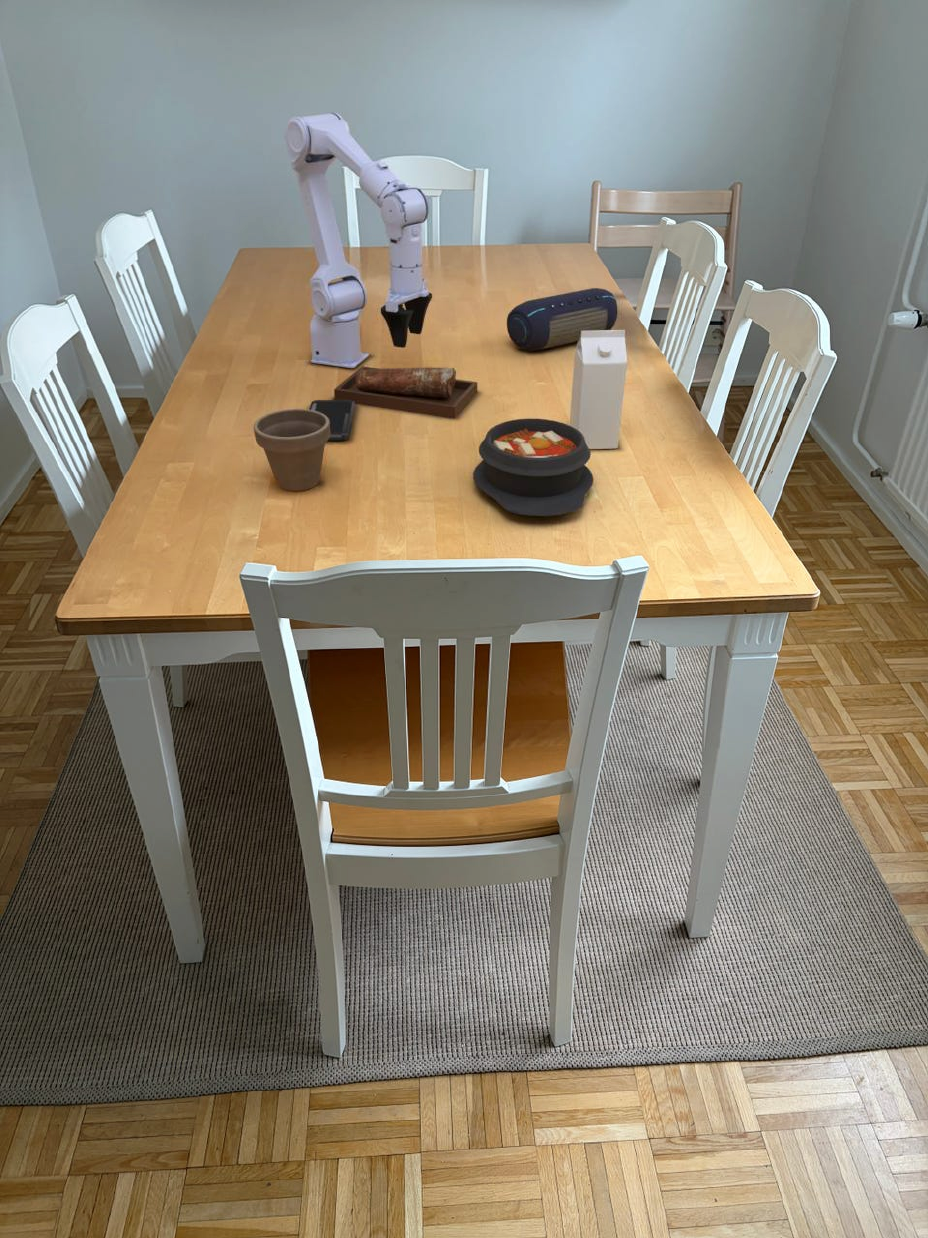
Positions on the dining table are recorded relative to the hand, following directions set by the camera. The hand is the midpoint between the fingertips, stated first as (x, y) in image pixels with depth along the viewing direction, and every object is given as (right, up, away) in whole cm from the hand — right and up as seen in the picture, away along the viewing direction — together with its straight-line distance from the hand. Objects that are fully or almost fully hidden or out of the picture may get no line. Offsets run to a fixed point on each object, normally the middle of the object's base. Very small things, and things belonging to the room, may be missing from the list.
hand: (407, 339), depth 175 cm
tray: (0, -10, +2) cm, 10 cm away
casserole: (+21, -31, -27) cm, 46 cm away
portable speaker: (+31, +7, +27) cm, 42 cm away
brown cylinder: (0, -10, +1) cm, 10 cm away
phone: (-13, -17, -8) cm, 23 cm away
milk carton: (+32, -21, -13) cm, 41 cm away
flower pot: (-16, -30, -26) cm, 43 cm away
